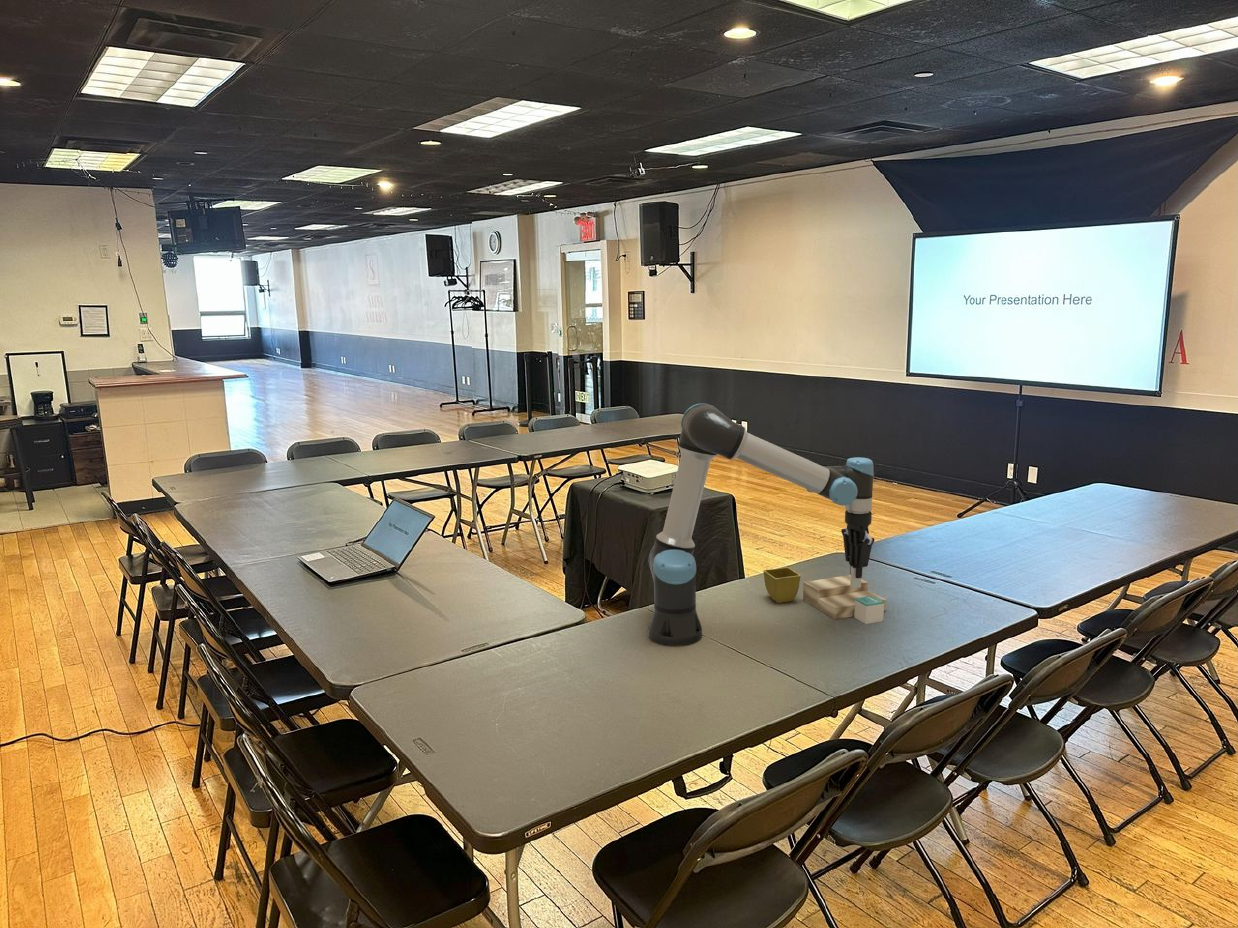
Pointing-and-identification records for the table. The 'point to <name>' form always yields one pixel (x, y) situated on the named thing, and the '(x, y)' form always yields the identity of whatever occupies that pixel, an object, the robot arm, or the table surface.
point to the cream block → (869, 609)
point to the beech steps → (835, 595)
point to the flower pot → (782, 584)
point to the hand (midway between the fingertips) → (855, 587)
